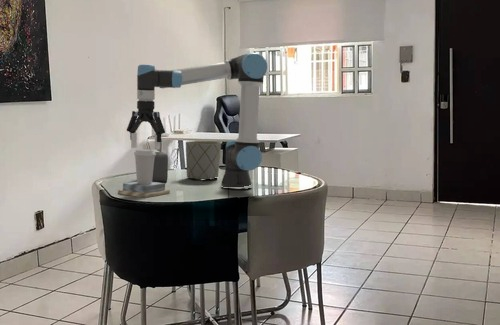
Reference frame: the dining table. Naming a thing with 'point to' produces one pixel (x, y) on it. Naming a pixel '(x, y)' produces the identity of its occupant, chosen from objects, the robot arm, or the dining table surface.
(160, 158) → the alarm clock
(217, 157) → the planter
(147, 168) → the coffee cup
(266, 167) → the dining table surface
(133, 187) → the pedestal
